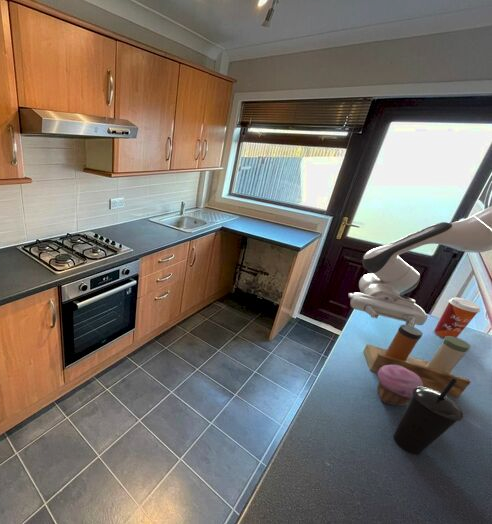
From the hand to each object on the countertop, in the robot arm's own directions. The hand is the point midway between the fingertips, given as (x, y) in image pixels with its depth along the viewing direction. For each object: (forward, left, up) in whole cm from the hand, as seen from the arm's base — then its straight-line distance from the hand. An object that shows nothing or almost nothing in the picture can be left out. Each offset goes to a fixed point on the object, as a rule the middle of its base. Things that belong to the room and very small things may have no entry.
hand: (393, 320), depth 89 cm
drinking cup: (+4, +39, -10) cm, 40 cm away
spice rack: (-4, +11, -10) cm, 16 cm away
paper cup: (-24, -19, -10) cm, 32 cm away
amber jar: (0, +11, -7) cm, 13 cm away
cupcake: (+4, +26, -10) cm, 28 cm away
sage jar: (-10, +11, -7) cm, 16 cm away
